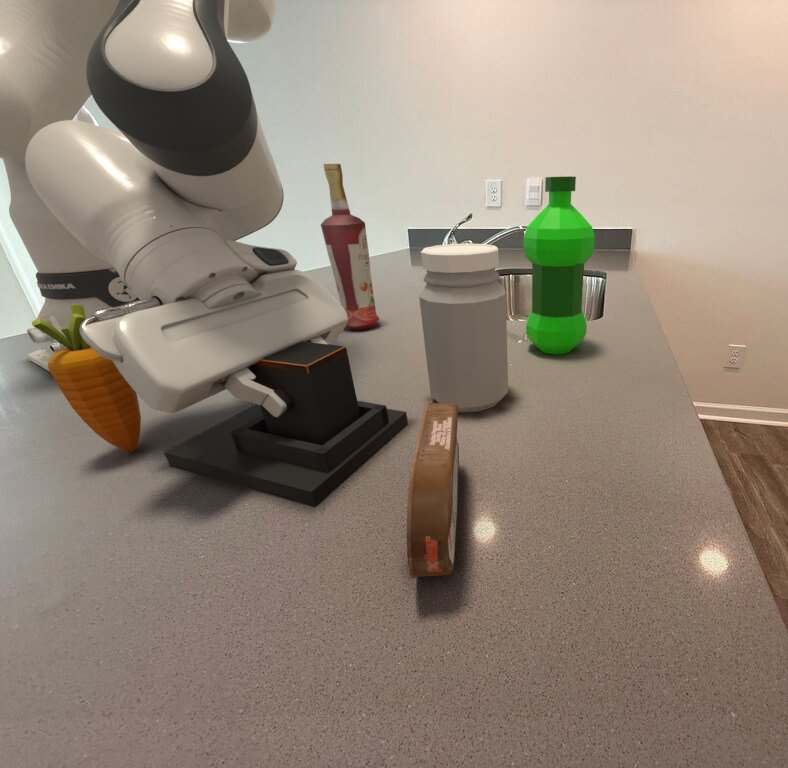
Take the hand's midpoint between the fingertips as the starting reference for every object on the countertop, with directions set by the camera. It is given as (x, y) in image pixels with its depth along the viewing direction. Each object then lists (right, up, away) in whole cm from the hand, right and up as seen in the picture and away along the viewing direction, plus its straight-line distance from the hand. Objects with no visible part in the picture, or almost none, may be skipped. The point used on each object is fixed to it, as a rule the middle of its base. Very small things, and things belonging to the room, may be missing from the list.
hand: (313, 394), depth 39 cm
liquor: (-10, +12, +41) cm, 43 cm away
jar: (+14, -1, +12) cm, 19 cm away
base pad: (-4, -5, +4) cm, 7 cm away
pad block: (-1, -4, +2) cm, 5 cm away
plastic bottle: (+26, +7, +28) cm, 39 cm away
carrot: (-20, -6, +3) cm, 21 cm away
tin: (+14, -10, -7) cm, 18 cm away
